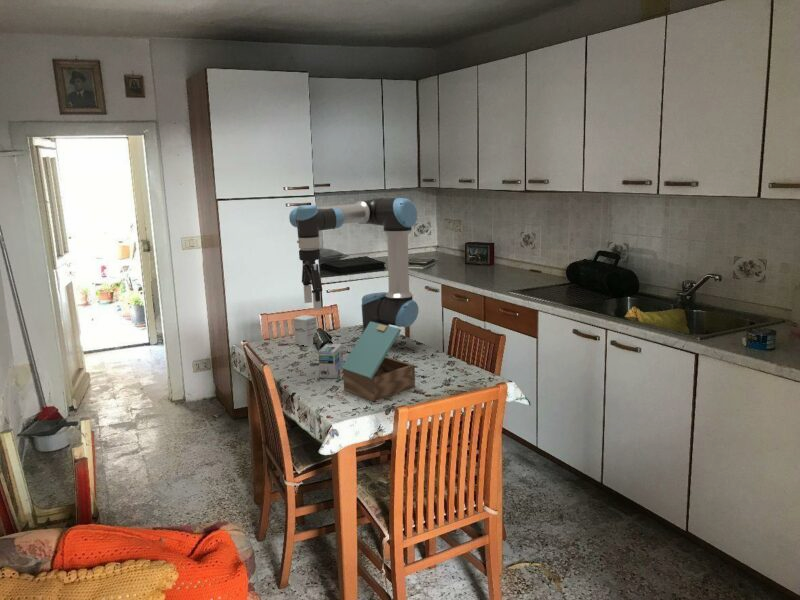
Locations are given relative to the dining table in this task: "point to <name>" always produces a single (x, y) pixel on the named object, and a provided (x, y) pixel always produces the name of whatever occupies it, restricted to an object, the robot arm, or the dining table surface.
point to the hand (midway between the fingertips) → (312, 306)
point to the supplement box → (305, 329)
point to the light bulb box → (331, 360)
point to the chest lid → (371, 349)
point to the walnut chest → (381, 380)
